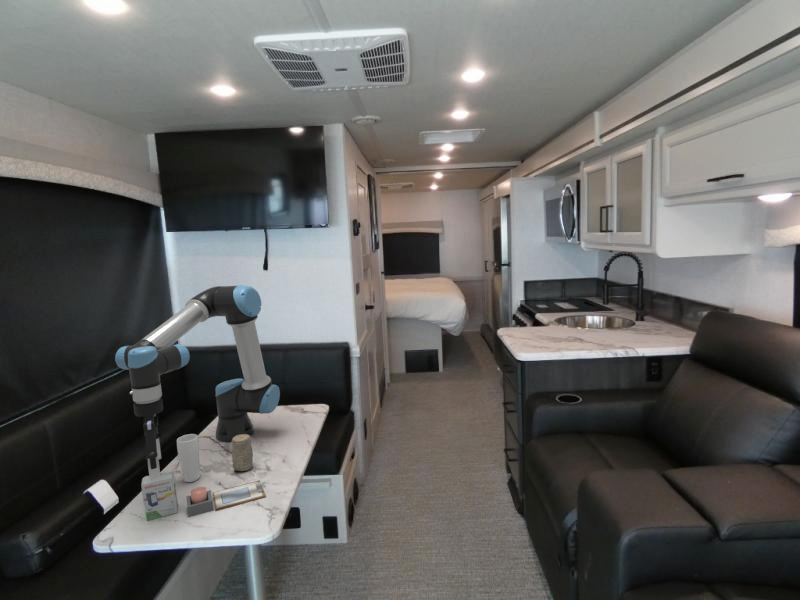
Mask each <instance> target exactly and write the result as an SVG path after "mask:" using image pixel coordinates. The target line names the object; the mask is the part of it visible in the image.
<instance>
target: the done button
mask: <svg viewBox="0 0 800 600" xmlns="http://www.w3.org/2000/svg"><path fill="white" fill-rule="evenodd" d="M206 491H207V488H206V487H203V486H200V487H196V488H194V489H191V491H190V495H191V501H192V505H193V504H196V503H200V502H204V501H207V493H206Z"/></svg>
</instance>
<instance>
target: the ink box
mask: <svg viewBox="0 0 800 600" xmlns="http://www.w3.org/2000/svg"><path fill="white" fill-rule="evenodd" d="M140 483H141V485H140V486H141V491H142V498H143V499H142V500H143V506H144V511H145V512H144V513H145V519H146V521H151V520H155V519H159V518H162V517H167V516H169V515H174V514H177V513H178V511H179V502H178V495H177V487H176V481H175V473H174V471H173V470H169V471H164V472H160V478H156V479H152V480H150V477H149V475H145V476H144V477H142V479H141V482H140Z"/></svg>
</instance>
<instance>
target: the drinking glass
mask: <svg viewBox="0 0 800 600" xmlns="http://www.w3.org/2000/svg"><path fill="white" fill-rule="evenodd" d="M176 449H177V455H178V458H179V463H180V468H181V472H182V479H183V481H184V483H193V482H195V481H197V480H199V478H201V471H200V464H201V463H200V441H199V437H198V434H195V433H189V434H184V435H182V436H180V437H178V438H177V439H176Z"/></svg>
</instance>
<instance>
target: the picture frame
mask: <svg viewBox="0 0 800 600" xmlns="http://www.w3.org/2000/svg"><path fill="white" fill-rule="evenodd" d="M211 495H212V501H213V504H214V505H213V507H214V510H215V512H219V511H221V510H224V509H228V508H231V507H235V506H238V505H239V506H240V505H243V504H246V503H250V502H253V501H257V500H261V499H264V498H267V496H266V493H265V490H264V487H263V484H262V482H261V480H260V479H259V480H254V481H252V482H247V483H243V484H241V485H236V486H233V487H229V488H226V489H222V490H217V491H213V492H211Z"/></svg>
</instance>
